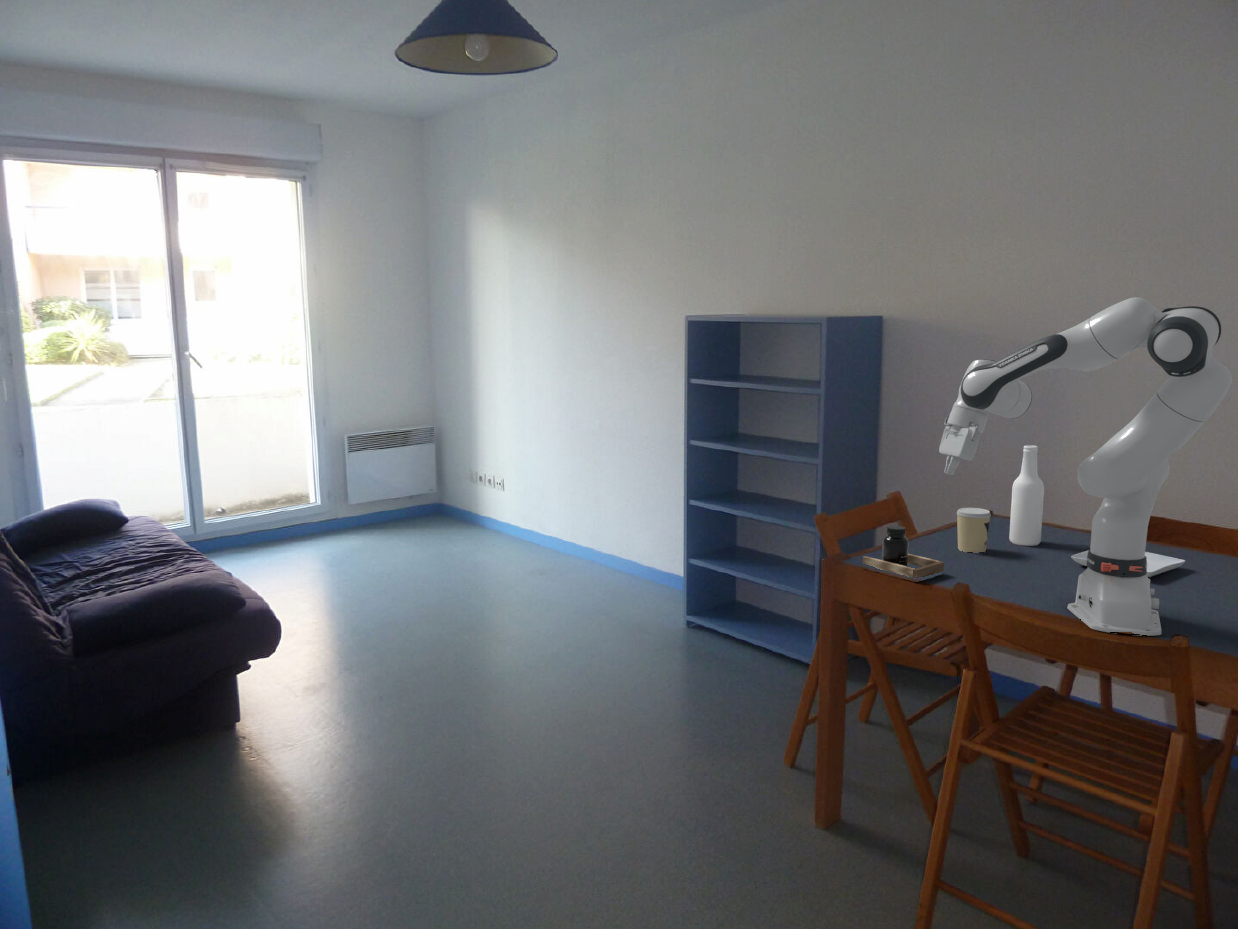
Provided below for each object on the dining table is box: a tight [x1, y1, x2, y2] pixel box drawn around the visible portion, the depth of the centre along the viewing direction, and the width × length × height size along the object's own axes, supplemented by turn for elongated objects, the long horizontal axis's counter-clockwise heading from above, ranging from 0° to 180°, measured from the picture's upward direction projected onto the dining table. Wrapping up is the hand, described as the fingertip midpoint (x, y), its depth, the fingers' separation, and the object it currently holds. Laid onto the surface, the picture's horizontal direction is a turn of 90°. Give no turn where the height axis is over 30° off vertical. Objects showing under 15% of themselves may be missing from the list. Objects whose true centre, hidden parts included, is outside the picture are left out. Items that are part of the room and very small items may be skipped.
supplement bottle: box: [881, 525, 910, 566], centre depth 239 cm, size 7×7×12 cm
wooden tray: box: [862, 553, 945, 578], centre depth 238 cm, size 17×12×4 cm
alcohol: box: [1008, 444, 1045, 547], centre depth 264 cm, size 9×9×30 cm
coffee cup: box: [956, 507, 992, 554], centre depth 258 cm, size 9×9×12 cm
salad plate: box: [1070, 549, 1186, 578], centre depth 239 cm, size 21×21×3 cm
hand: (948, 474), depth 221 cm, fingers closed
